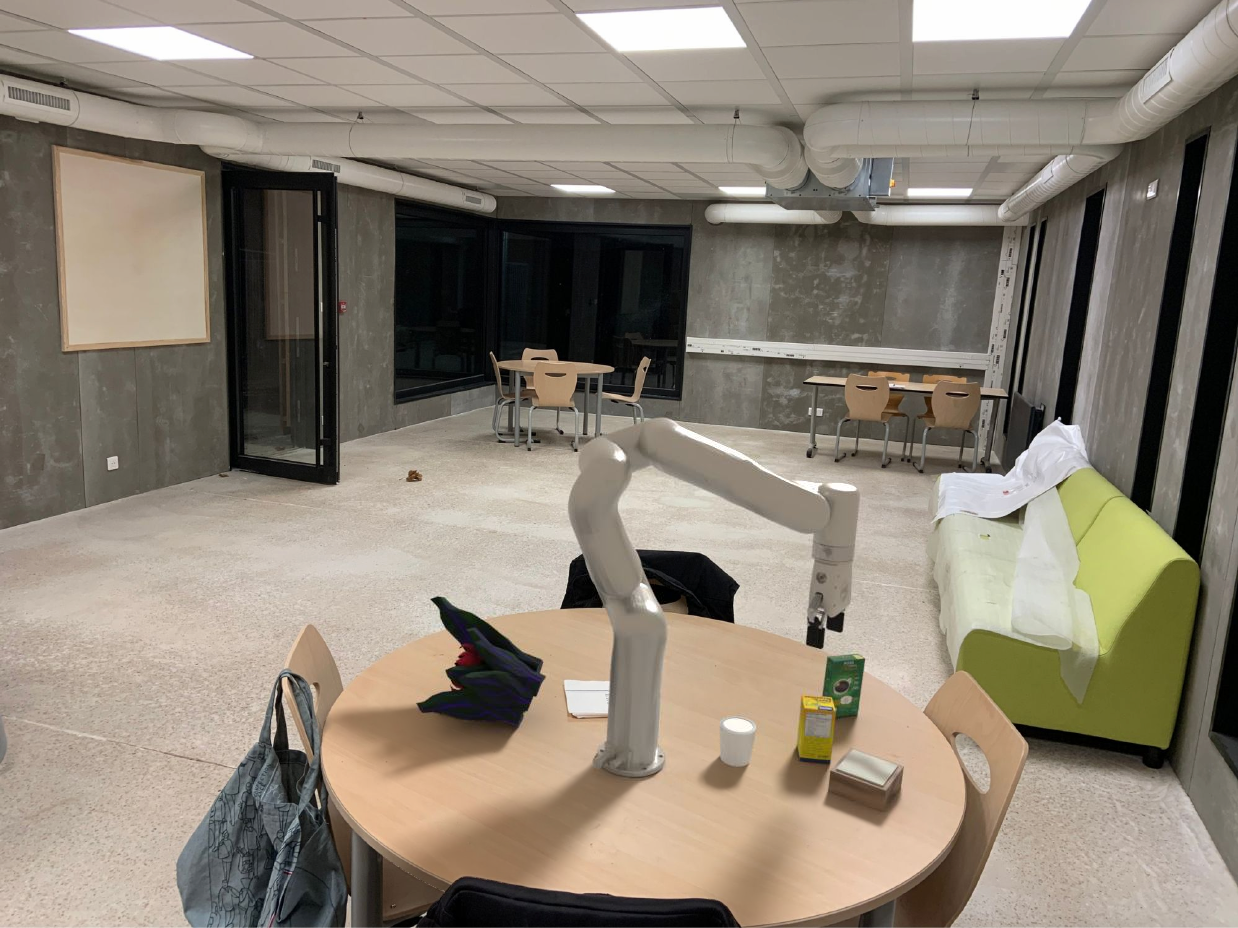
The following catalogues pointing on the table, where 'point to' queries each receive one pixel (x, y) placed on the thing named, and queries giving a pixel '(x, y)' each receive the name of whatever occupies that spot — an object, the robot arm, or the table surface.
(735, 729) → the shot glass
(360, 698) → the table surface
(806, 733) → the supplement box
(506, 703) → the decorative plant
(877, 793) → the brown small box
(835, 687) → the coffee box
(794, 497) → the robot arm
